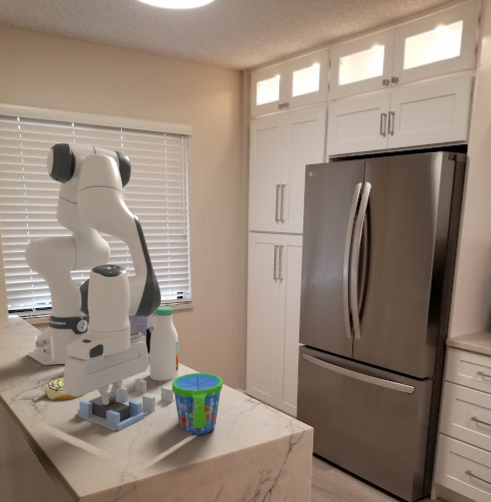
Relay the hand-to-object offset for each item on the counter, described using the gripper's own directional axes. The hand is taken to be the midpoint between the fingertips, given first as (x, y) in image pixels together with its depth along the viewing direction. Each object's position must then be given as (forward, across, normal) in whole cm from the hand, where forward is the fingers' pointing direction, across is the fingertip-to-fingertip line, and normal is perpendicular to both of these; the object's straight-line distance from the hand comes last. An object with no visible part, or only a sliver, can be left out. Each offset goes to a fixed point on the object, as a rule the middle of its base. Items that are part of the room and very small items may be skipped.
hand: (110, 402), depth 93 cm
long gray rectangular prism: (+3, 0, 0) cm, 3 cm away
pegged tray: (+4, -5, 0) cm, 6 cm away
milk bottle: (+4, -25, -8) cm, 27 cm away
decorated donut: (+4, -3, -20) cm, 21 cm away
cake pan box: (+4, -26, -26) cm, 37 cm away
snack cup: (+4, -8, +18) cm, 20 cm away
